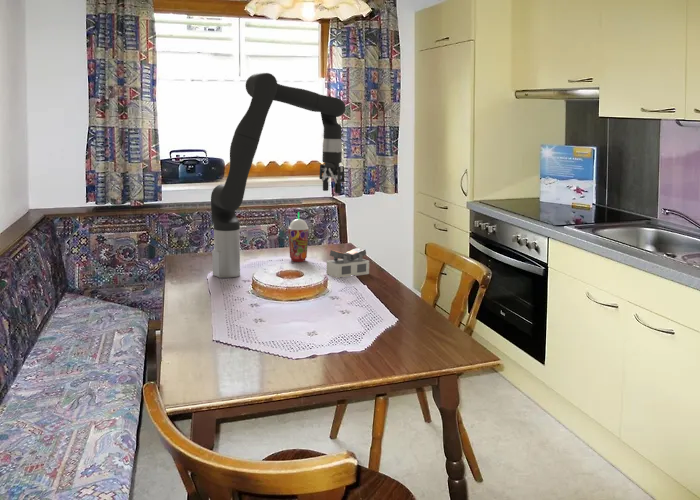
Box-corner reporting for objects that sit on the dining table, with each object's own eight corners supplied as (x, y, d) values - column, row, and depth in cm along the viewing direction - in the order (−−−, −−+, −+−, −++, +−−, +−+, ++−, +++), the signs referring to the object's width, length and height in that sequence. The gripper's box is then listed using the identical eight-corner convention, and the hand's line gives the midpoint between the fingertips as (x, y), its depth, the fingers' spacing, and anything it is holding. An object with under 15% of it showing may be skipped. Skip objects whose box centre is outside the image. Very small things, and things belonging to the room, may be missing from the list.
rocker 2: (353, 260, 255) (352, 254, 254) (345, 257, 259) (344, 252, 258) (366, 254, 258) (365, 249, 257) (358, 252, 262) (357, 246, 261)
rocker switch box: (338, 278, 250) (338, 257, 249) (326, 273, 257) (326, 254, 255) (369, 274, 258) (369, 254, 257) (356, 269, 265) (357, 250, 263)
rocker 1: (337, 257, 250) (338, 252, 250) (329, 255, 255) (330, 249, 255) (350, 260, 254) (351, 254, 254) (342, 257, 258) (343, 252, 258)
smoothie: (299, 263, 274) (299, 214, 270) (283, 260, 279) (283, 212, 275) (312, 260, 280) (313, 212, 277) (297, 257, 285) (297, 210, 281)
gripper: (314, 149, 271) (313, 190, 274) (334, 151, 259) (333, 194, 262) (330, 149, 275) (329, 189, 278) (350, 151, 264) (349, 193, 267)
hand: (331, 191), depth 270 cm, fingers open, 8 cm apart
